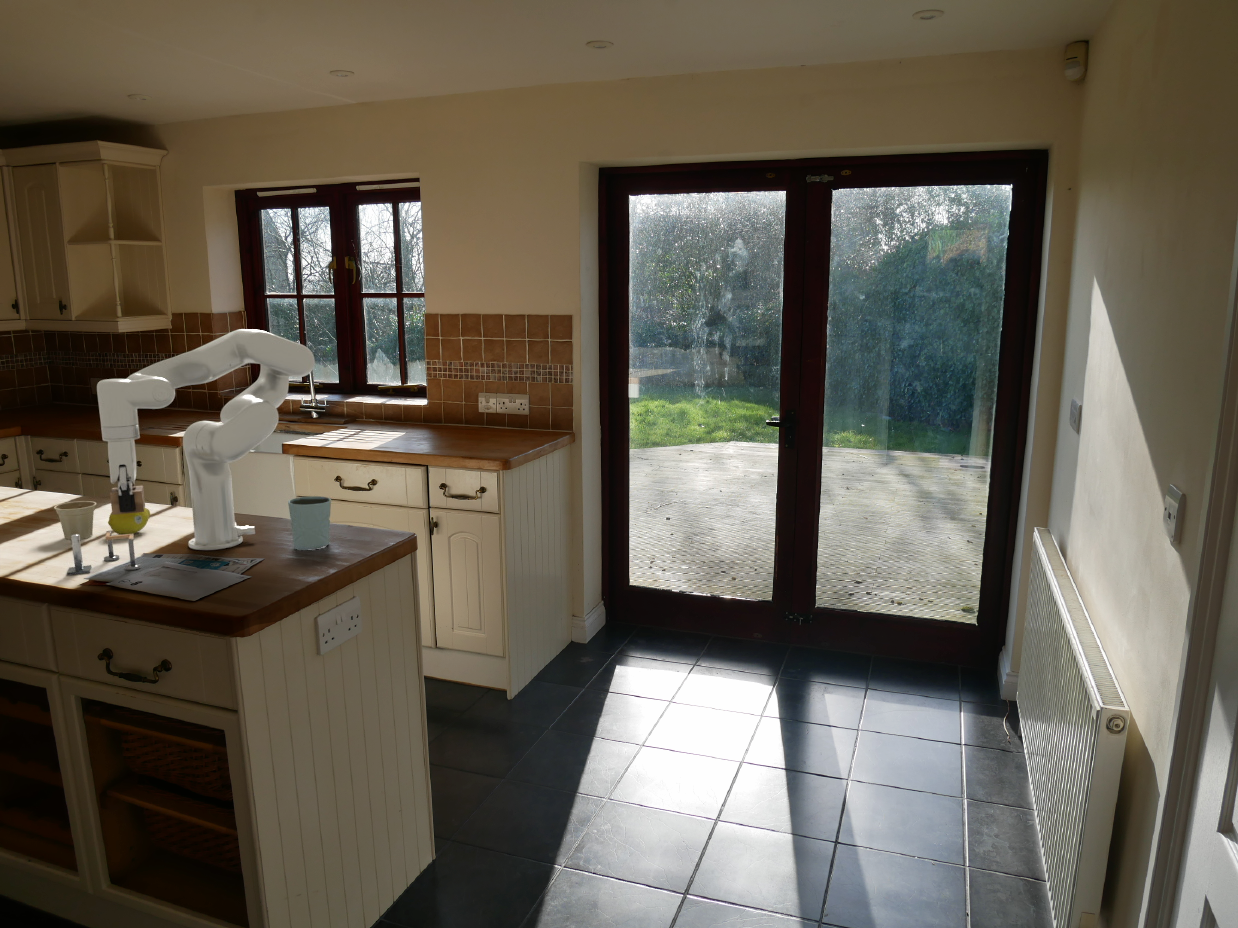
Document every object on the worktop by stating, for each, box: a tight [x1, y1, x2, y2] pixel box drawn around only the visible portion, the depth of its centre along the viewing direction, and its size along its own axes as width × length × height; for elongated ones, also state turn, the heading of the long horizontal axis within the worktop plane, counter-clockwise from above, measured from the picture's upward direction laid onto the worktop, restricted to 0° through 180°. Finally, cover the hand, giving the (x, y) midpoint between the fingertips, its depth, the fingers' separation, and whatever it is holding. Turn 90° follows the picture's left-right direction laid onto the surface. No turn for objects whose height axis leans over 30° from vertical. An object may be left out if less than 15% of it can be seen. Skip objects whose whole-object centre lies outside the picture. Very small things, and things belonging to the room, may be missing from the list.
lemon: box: [107, 507, 151, 535], centre depth 231 cm, size 11×8×8 cm
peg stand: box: [66, 534, 92, 576], centre depth 199 cm, size 4×4×9 cm
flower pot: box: [53, 500, 97, 541], centre depth 227 cm, size 9×9×9 cm
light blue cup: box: [287, 495, 332, 551], centre depth 221 cm, size 10×10×12 cm
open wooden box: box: [109, 485, 146, 515], centre depth 204 cm, size 6×6×5 cm
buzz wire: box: [103, 530, 142, 571], centre depth 205 cm, size 5×14×7 cm, turn 62°
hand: (128, 507), depth 204 cm, fingers closed on open wooden box, 6 cm apart
